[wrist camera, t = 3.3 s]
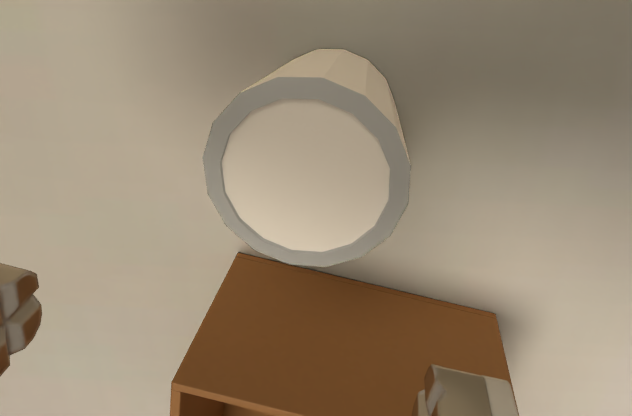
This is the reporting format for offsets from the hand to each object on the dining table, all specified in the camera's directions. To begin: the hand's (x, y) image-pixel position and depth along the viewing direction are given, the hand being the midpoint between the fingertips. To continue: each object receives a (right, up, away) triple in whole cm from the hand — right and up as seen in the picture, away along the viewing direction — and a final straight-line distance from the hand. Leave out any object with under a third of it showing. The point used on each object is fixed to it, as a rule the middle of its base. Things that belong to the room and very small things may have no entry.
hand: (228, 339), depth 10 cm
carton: (+3, -8, +20) cm, 22 cm away
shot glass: (+2, +7, +12) cm, 14 cm away
